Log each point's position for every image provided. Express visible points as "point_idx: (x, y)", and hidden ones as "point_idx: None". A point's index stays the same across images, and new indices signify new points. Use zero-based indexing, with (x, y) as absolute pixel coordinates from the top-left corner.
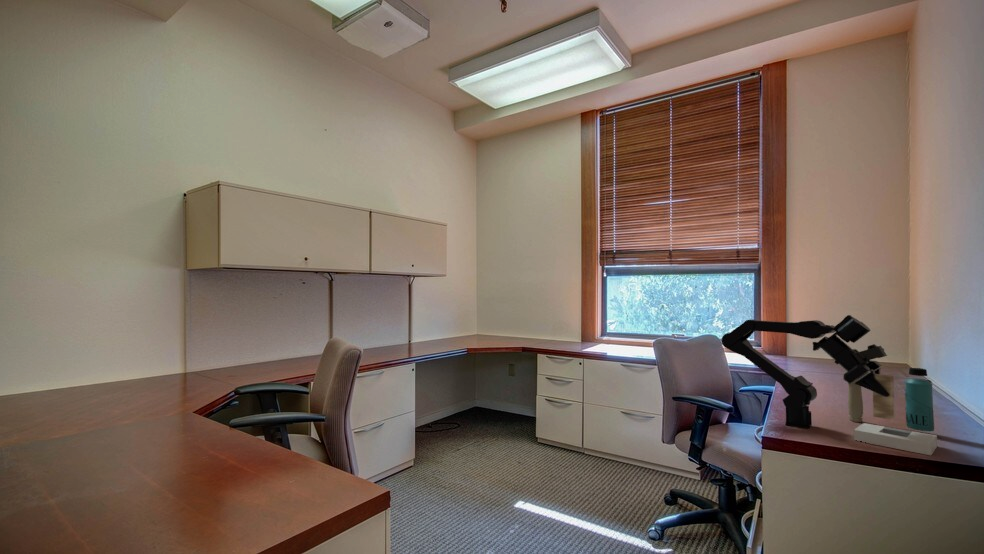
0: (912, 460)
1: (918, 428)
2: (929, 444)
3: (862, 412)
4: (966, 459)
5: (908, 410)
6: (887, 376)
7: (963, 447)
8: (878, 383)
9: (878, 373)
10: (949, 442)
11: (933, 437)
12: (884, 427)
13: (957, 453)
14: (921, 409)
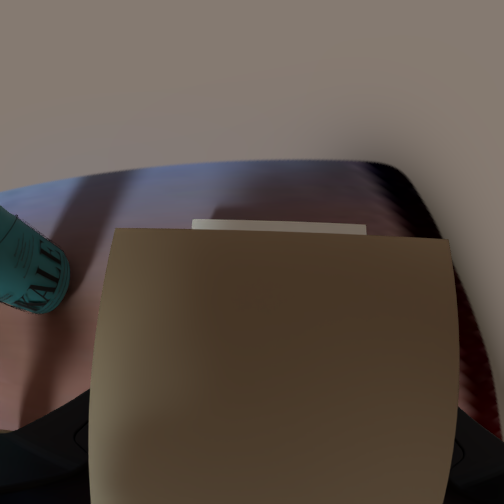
0: (454, 274)
1: (67, 281)
2: (364, 228)
3: (5, 432)
4: (311, 173)
5: (14, 291)
6: (422, 301)
7: (157, 186)
8: (459, 413)
9: (46, 485)
10: (117, 216)
11: (241, 224)
12: None
13: (254, 191)
14: (23, 244)
